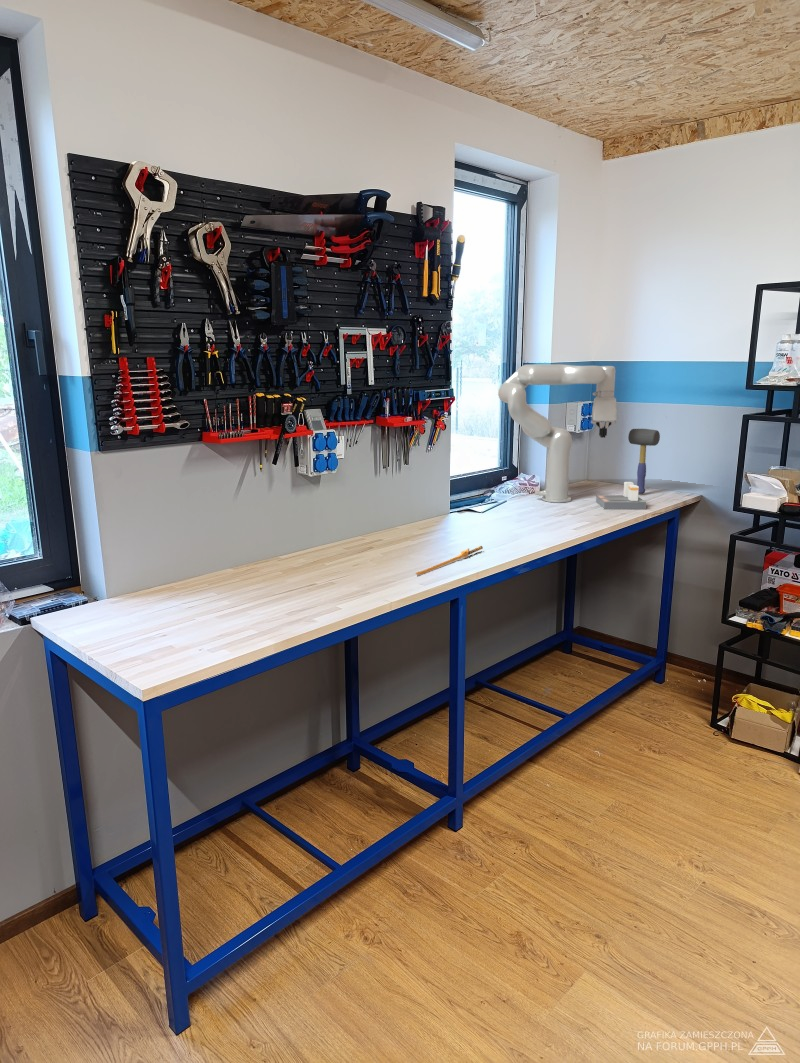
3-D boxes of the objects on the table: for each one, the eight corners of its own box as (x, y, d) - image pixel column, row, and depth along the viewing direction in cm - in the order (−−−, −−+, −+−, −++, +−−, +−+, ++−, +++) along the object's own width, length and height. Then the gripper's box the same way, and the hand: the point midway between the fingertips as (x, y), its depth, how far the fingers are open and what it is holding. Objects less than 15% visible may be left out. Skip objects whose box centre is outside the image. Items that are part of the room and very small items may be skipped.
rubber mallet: (623, 494, 331) (627, 428, 324) (631, 491, 336) (635, 427, 329) (649, 497, 323) (654, 430, 316) (656, 495, 328) (661, 428, 321)
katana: (414, 580, 209) (413, 571, 208) (479, 550, 235) (479, 542, 234) (417, 581, 208) (417, 572, 207) (482, 551, 234) (482, 543, 233)
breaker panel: (604, 509, 298) (605, 487, 296) (596, 501, 314) (597, 481, 311) (645, 509, 297) (647, 487, 295) (635, 502, 312) (637, 481, 310)
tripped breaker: (630, 500, 298) (631, 486, 297) (627, 499, 302) (628, 484, 301) (637, 500, 298) (638, 486, 297) (635, 499, 302) (636, 484, 301)
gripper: (589, 395, 309) (587, 438, 314) (624, 395, 308) (622, 438, 313) (585, 394, 317) (583, 436, 321) (620, 394, 316) (618, 436, 320)
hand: (602, 437), depth 317 cm, fingers closed
